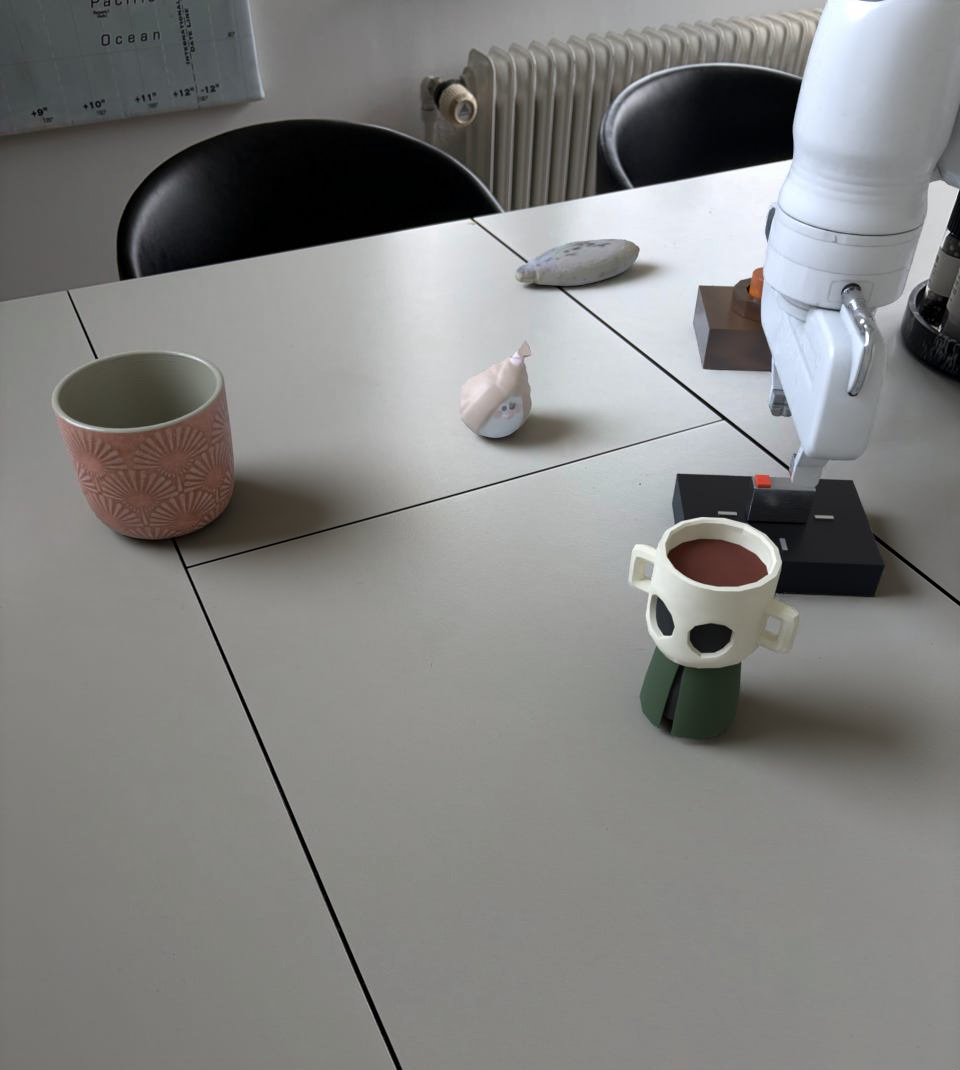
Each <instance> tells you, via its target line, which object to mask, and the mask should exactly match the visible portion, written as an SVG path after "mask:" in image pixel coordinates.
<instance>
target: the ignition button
mask: <svg viewBox="0 0 960 1070" xmlns="http://www.w3.org/2000/svg"><path fill="white" fill-rule="evenodd" d="M763 268H764V266H762V267H757V268H755V269H753V271H752V274H751V278H752V279H751V284H750V289H749V294H751V295H752V296H754V297H757V298H761V299H762V291H763V283H764V276H763Z"/></svg>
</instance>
